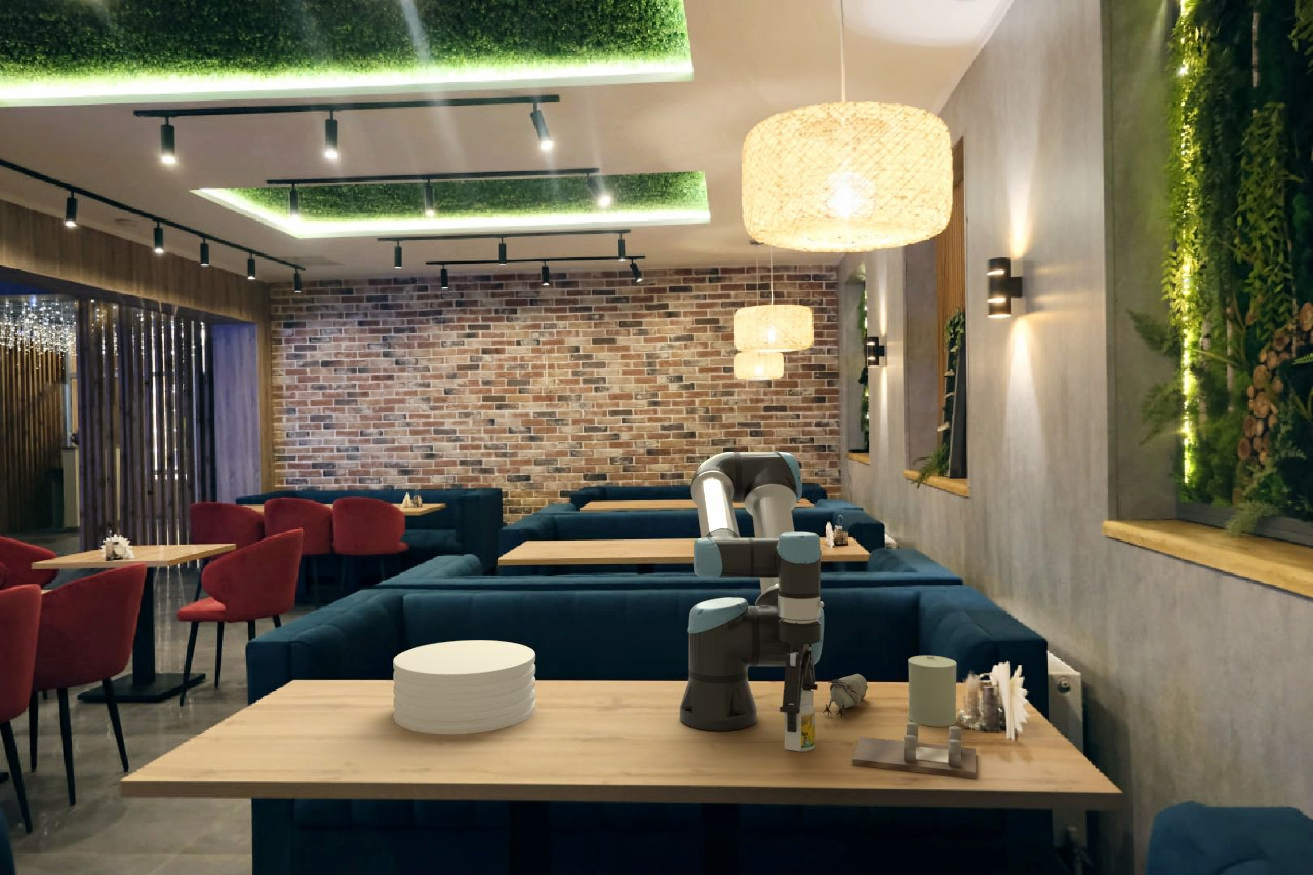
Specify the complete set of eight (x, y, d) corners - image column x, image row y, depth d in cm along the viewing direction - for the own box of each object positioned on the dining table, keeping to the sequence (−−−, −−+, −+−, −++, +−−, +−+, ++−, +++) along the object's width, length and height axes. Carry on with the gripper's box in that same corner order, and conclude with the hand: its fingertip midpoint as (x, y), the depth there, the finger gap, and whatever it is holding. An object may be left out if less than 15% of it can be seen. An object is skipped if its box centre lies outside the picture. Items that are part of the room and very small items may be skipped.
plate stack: (472, 744, 171) (472, 681, 171) (363, 720, 185) (362, 662, 185) (562, 704, 195) (562, 649, 195) (459, 686, 209) (459, 635, 209)
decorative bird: (874, 701, 197) (874, 665, 197) (845, 721, 184) (845, 683, 184) (850, 697, 200) (850, 662, 200) (819, 716, 187) (819, 679, 187)
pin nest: (852, 764, 160) (852, 735, 159) (859, 742, 171) (859, 714, 171) (976, 778, 153) (976, 748, 153) (975, 754, 165) (975, 725, 164)
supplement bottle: (816, 744, 170) (816, 691, 170) (812, 753, 165) (812, 699, 165) (787, 741, 172) (787, 688, 172) (782, 750, 167) (782, 697, 166)
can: (951, 713, 188) (951, 653, 188) (961, 727, 179) (961, 665, 179) (904, 711, 189) (904, 652, 189) (912, 726, 180) (912, 664, 180)
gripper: (809, 634, 155) (809, 762, 155) (830, 607, 179) (830, 718, 179) (764, 631, 157) (764, 757, 158) (791, 605, 181) (791, 714, 181)
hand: (799, 737), depth 168 cm, fingers open, 13 cm apart
